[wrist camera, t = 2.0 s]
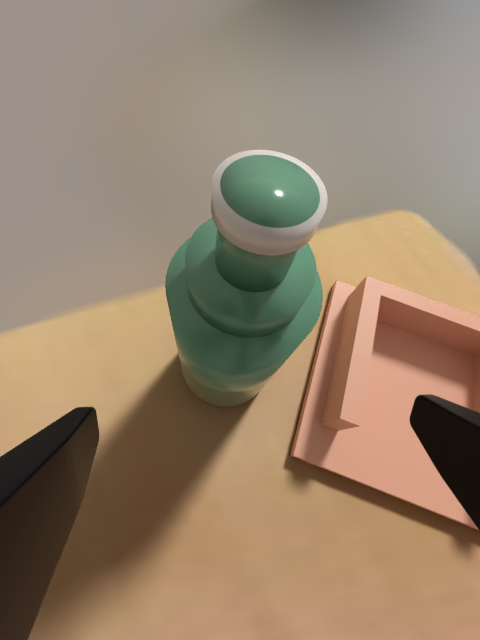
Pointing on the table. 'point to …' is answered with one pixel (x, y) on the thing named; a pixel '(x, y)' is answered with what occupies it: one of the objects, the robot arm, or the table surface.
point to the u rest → (387, 389)
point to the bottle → (247, 277)
